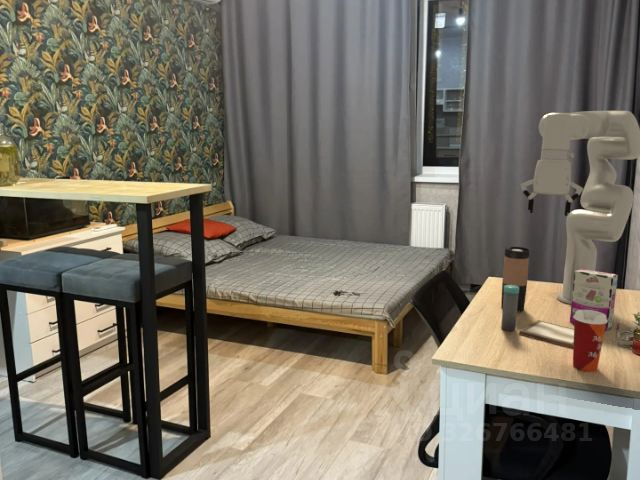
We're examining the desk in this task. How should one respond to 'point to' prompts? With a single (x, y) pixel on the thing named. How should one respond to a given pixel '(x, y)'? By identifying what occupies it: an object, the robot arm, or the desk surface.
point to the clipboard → (550, 333)
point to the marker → (510, 308)
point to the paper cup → (588, 339)
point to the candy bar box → (594, 293)
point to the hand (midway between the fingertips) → (548, 213)
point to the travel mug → (516, 272)
